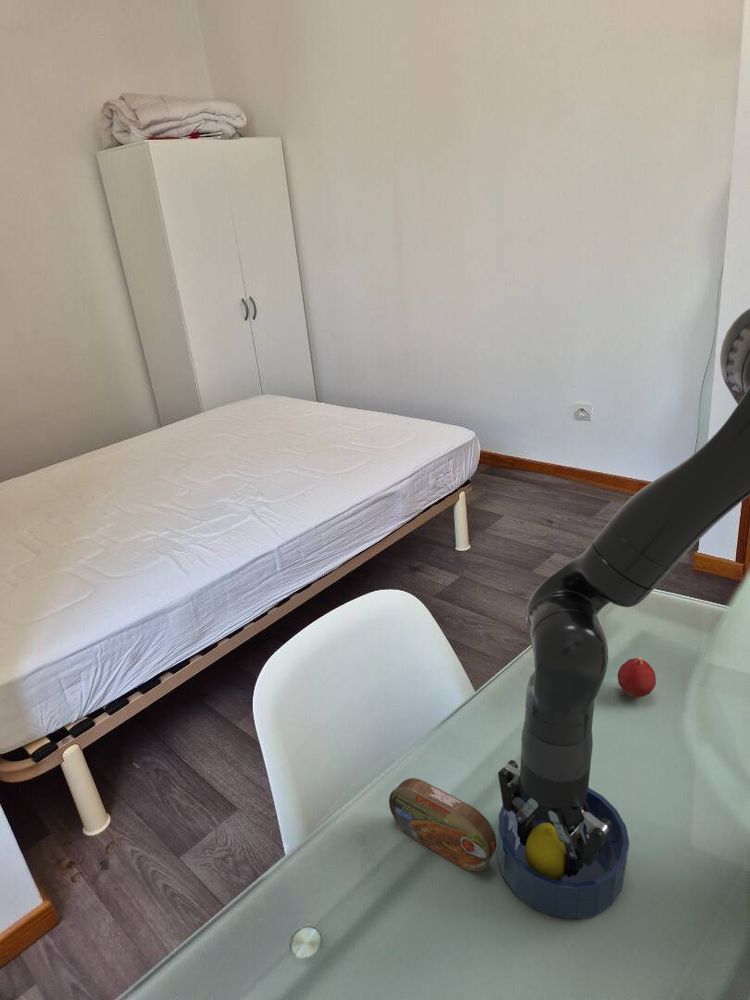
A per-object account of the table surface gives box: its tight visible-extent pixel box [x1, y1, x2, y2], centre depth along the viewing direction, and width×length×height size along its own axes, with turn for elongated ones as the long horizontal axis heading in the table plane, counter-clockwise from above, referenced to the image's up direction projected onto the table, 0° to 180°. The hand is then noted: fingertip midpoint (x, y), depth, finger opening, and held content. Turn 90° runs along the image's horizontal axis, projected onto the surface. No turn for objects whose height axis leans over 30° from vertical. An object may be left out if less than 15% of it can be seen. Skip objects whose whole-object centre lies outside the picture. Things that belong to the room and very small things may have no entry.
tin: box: [388, 777, 497, 872], centre depth 88 cm, size 15×3×8 cm, turn 53°
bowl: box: [497, 786, 630, 920], centre depth 86 cm, size 15×15×6 cm
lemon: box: [525, 823, 567, 881], centre depth 83 cm, size 6×6×8 cm
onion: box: [617, 656, 657, 699], centre depth 111 cm, size 6×6×8 cm
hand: (548, 854), depth 83 cm, fingers closed on lemon, 5 cm apart
